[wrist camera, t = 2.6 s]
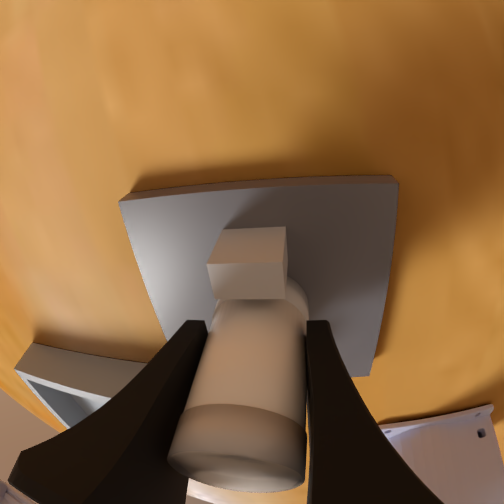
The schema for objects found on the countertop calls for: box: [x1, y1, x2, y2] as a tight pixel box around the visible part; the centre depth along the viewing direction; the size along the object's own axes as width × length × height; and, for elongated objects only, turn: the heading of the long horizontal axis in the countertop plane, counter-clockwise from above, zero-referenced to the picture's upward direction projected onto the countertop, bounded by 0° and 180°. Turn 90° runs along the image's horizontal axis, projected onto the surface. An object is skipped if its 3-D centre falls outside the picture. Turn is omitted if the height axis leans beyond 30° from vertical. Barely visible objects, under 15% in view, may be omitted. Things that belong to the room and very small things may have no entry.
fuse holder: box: [118, 175, 399, 377], centre depth 11 cm, size 9×9×3 cm
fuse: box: [167, 276, 309, 493], centre depth 9 cm, size 3×3×6 cm
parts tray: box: [14, 343, 148, 429], centre depth 18 cm, size 12×12×3 cm
